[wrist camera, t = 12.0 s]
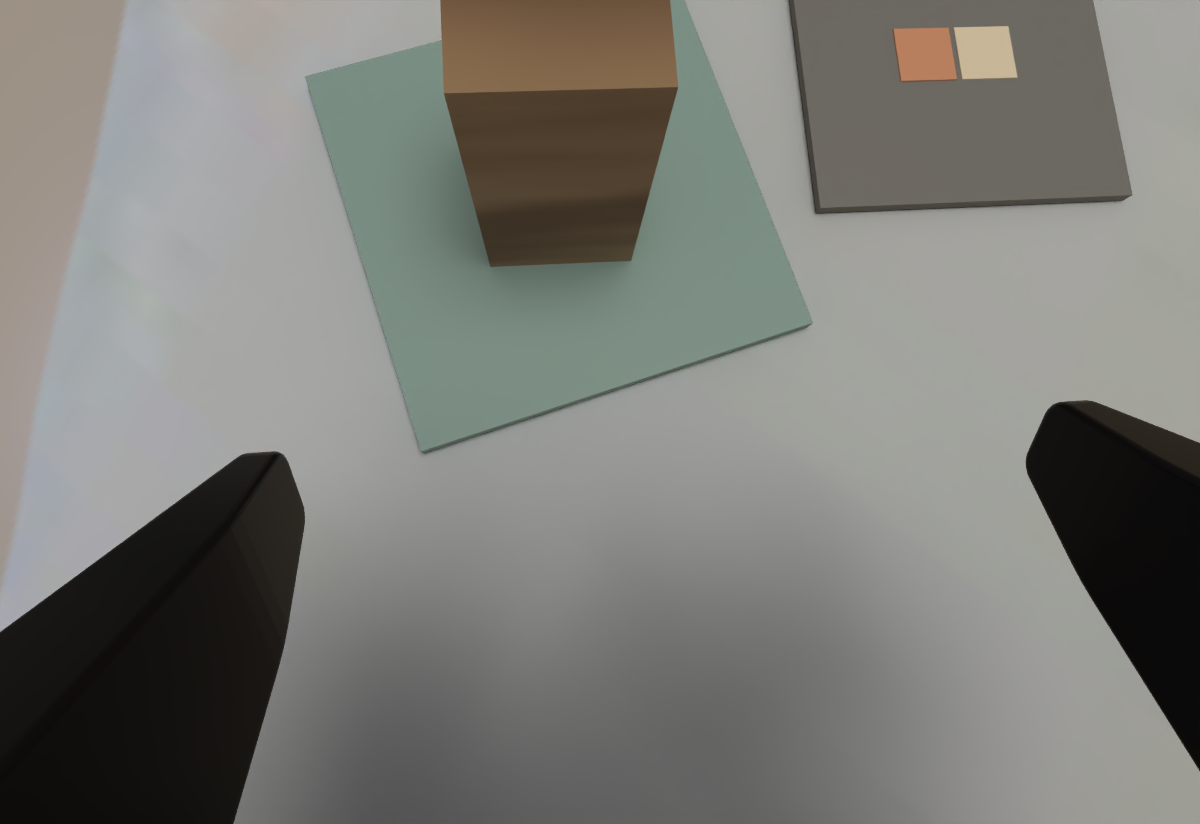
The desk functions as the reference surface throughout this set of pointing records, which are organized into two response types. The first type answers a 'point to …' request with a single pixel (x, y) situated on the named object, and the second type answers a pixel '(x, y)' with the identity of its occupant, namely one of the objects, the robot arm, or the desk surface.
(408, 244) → the teal pad
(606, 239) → the walnut block
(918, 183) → the tile
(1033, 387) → the desk surface
